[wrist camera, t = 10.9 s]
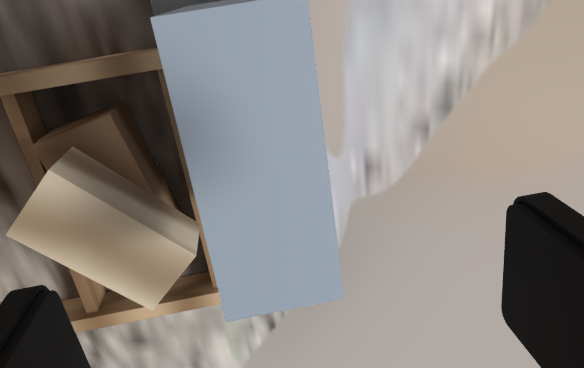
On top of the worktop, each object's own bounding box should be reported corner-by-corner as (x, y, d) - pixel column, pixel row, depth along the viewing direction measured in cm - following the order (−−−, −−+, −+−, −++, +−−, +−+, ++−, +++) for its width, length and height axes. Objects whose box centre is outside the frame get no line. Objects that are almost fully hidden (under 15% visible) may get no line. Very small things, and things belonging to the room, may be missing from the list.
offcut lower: (124, 100, 31) (110, 114, 27) (194, 234, 35) (190, 262, 31) (54, 127, 31) (30, 145, 27) (133, 258, 35) (122, 289, 32)
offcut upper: (72, 146, 27) (48, 169, 24) (200, 223, 30) (196, 255, 27) (34, 204, 29) (5, 235, 25) (161, 273, 31) (152, 310, 28)
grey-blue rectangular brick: (268, -7, 29) (306, -8, 15) (295, 172, 33) (344, 298, 20) (187, 5, 28) (150, 17, 14) (226, 184, 33) (226, 322, 19)
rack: (170, 44, 30) (151, 61, 22) (227, 279, 37) (227, 350, 29) (-123, 93, 28) (-245, 128, 21) (-6, 325, 36) (-67, 411, 28)
